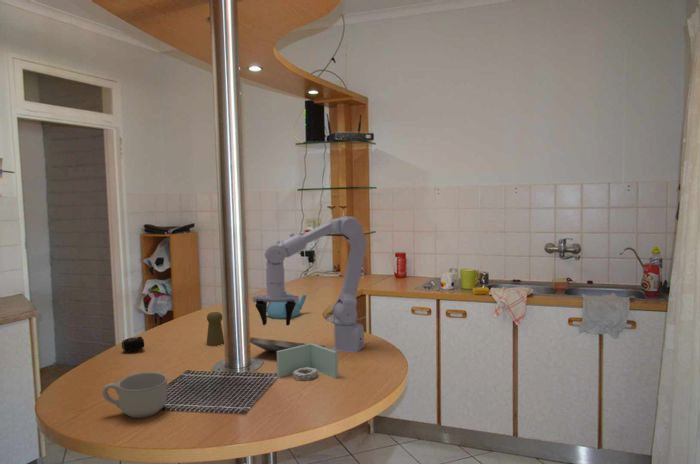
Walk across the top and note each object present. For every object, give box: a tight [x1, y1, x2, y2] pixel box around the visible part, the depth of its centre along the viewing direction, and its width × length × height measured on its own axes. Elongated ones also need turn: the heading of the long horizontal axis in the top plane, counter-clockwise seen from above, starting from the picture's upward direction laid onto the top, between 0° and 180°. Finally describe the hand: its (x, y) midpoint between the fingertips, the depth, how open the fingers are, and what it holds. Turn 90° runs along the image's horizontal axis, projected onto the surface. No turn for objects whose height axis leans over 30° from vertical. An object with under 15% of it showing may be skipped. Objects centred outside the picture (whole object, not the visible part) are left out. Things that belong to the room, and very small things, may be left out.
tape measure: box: [121, 336, 145, 353], centre depth 170 cm, size 7×7×4 cm
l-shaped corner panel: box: [276, 342, 339, 382], centre depth 142 cm, size 12×12×8 cm
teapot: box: [266, 290, 307, 320], centre depth 220 cm, size 15×15×11 cm
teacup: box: [102, 371, 168, 419], centre depth 120 cm, size 14×11×8 cm
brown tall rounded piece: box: [206, 311, 225, 347], centre depth 177 cm, size 6×6×11 cm
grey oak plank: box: [249, 337, 303, 353], centre depth 161 cm, size 18×10×2 cm, turn 66°
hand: (276, 324), depth 165 cm, fingers open, 7 cm apart
